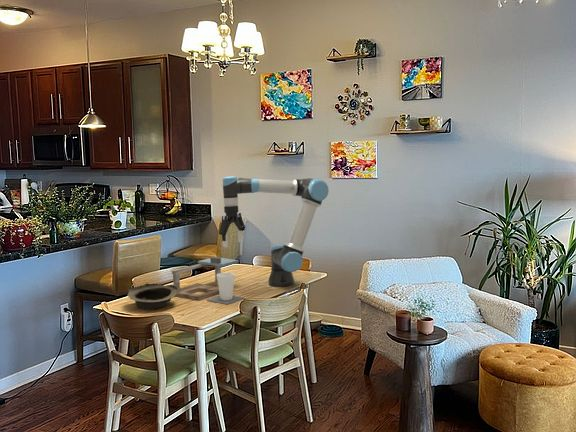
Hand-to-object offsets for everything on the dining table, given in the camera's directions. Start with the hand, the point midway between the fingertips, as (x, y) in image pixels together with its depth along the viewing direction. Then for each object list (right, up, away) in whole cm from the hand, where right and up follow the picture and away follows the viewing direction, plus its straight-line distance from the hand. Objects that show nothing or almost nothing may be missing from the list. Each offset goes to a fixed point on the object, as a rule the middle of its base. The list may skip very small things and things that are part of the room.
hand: (233, 244), depth 294 cm
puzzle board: (-15, -26, +14) cm, 34 cm away
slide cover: (-11, -12, +20) cm, 26 cm away
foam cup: (-3, -28, -7) cm, 29 cm away
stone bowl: (-39, -30, -17) cm, 52 cm away
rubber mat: (-3, -29, -7) cm, 30 cm away
